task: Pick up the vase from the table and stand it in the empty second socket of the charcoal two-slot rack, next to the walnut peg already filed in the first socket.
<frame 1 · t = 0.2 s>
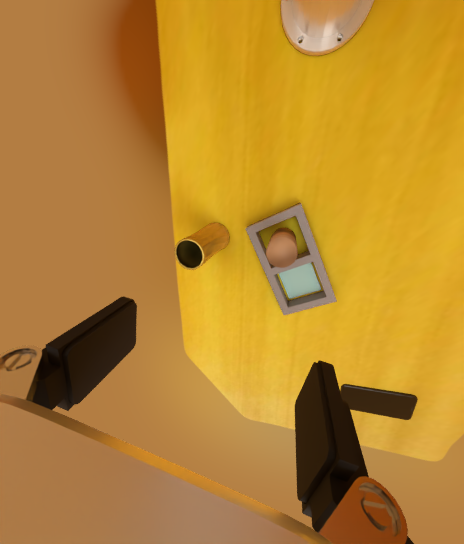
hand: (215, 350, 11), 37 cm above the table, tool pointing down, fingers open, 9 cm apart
walnut peg: (283, 240, 44), resting in slot rack
smartphone: (374, 399, 53), on the table
slot rack: (291, 260, 45), on the table
vase: (216, 236, 48), on the table
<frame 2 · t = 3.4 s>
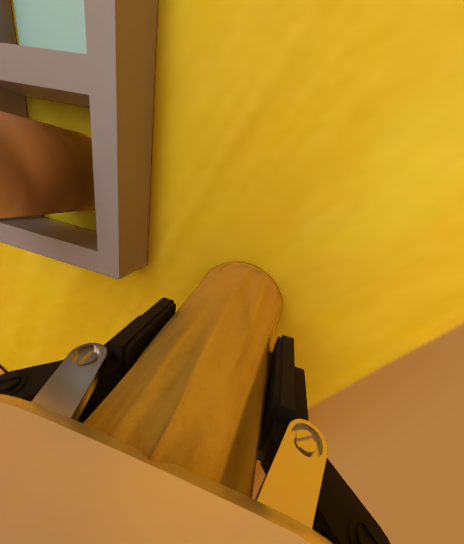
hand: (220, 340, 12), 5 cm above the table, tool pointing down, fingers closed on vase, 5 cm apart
walnut peg: (80, 173, 15), resting in slot rack
slot rack: (74, 90, 13), on the table
vase: (239, 299, 16), on the table, touching gripper
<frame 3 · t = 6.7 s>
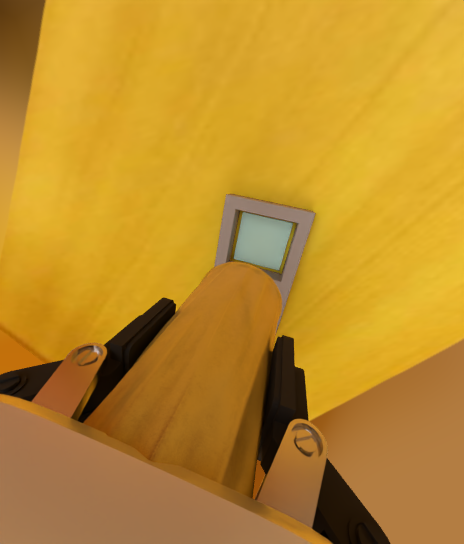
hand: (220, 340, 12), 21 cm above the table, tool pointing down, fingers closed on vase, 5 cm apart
slot rack: (254, 271, 33), on the table
vase: (239, 299, 16), point 17 cm above the table, touching gripper
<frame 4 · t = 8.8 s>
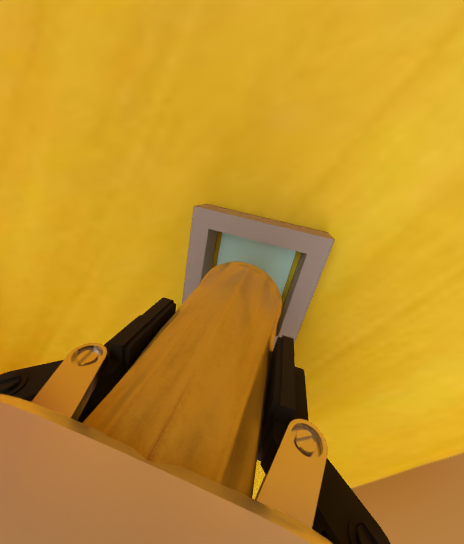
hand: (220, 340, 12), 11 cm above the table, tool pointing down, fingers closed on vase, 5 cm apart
slot rack: (240, 313, 23), on the table
vase: (239, 299, 16), point 6 cm above the table, touching gripper
when the fingers open (6 cm above the table, at t = 10.2 s): vase drops 1 cm, resting on slot rack.
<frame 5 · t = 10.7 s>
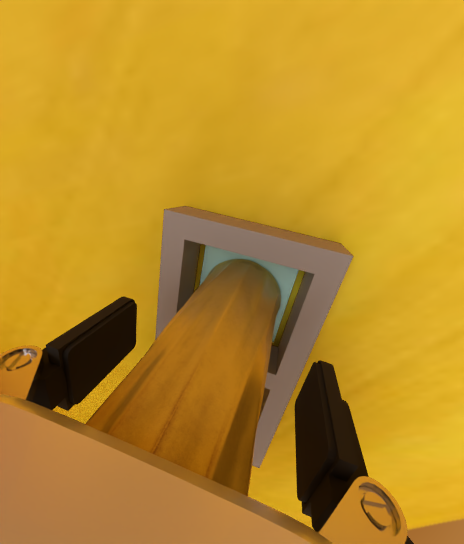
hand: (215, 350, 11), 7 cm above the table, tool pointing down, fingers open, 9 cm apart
slot rack: (230, 339, 19), on the table
vase: (241, 294, 17), resting on slot rack
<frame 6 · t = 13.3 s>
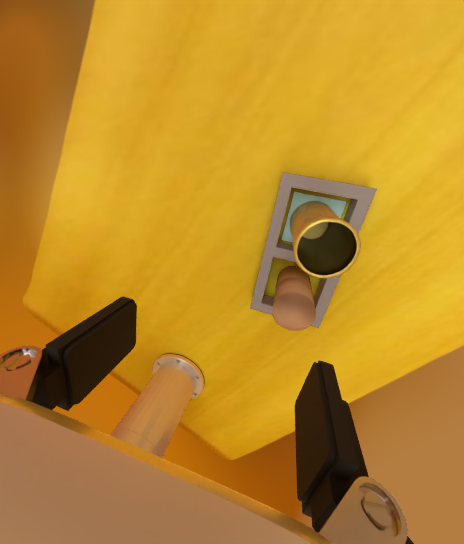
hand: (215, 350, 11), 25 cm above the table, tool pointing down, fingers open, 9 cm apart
walnut peg: (293, 280, 35), resting in slot rack
slot rack: (301, 252, 33), on the table
vase: (311, 222, 31), resting on slot rack
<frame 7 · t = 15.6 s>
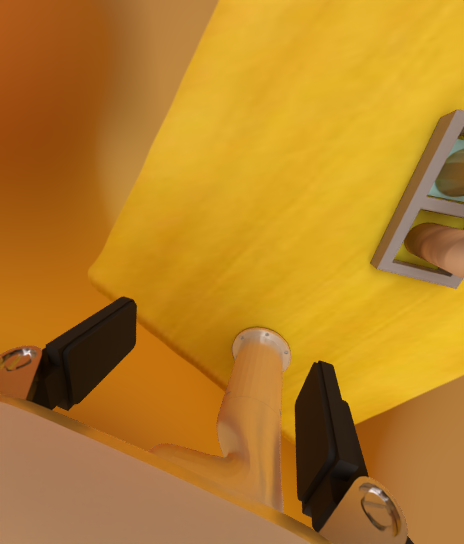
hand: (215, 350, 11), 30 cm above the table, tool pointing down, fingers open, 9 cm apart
walnut peg: (423, 239, 33), resting in slot rack
slot rack: (441, 207, 31), on the table
vase: (461, 173, 29), resting on slot rack
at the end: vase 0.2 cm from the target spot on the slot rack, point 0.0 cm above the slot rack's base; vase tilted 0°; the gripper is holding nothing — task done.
